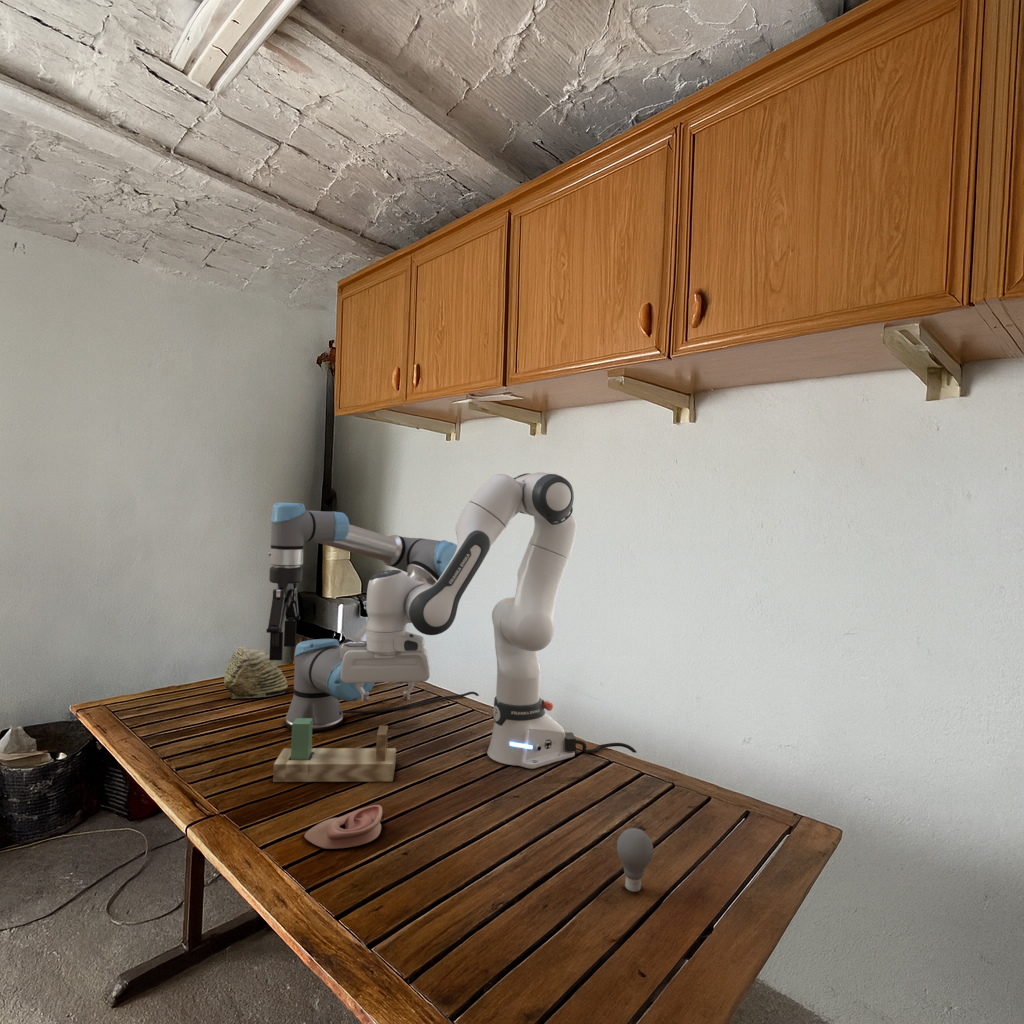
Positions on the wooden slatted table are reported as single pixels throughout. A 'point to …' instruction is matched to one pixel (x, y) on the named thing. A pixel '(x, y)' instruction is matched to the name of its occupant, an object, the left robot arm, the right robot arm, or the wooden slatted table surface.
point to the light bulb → (634, 856)
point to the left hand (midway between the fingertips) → (283, 652)
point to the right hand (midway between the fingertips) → (385, 700)
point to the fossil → (253, 675)
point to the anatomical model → (347, 829)
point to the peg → (301, 739)
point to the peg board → (339, 764)
